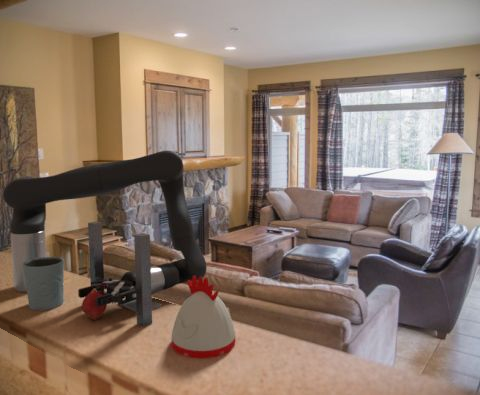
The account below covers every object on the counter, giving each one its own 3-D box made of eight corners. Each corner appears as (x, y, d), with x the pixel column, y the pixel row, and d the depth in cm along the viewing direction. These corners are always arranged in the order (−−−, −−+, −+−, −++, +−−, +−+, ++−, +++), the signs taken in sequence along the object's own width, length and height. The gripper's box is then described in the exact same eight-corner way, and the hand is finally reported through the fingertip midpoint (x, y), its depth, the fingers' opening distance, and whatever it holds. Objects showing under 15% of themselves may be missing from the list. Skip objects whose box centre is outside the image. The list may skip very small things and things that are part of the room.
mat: (117, 303, 120) (117, 302, 120) (139, 297, 125) (139, 295, 125) (139, 313, 113) (139, 311, 113) (161, 306, 119) (161, 304, 118)
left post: (91, 300, 122) (87, 222, 119) (100, 298, 124) (96, 221, 121) (96, 303, 121) (92, 224, 118) (104, 300, 123) (101, 222, 120)
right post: (137, 323, 108) (134, 234, 105) (145, 320, 109) (143, 233, 106) (143, 326, 106) (140, 236, 103) (152, 323, 108) (149, 234, 105)
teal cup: (45, 313, 113) (42, 268, 112) (16, 308, 117) (13, 264, 116) (74, 300, 123) (71, 258, 121) (46, 295, 126) (43, 254, 125)
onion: (77, 321, 109) (76, 290, 108) (95, 313, 114) (93, 283, 113) (94, 326, 106) (93, 293, 105) (112, 317, 111) (111, 286, 110)
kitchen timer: (200, 324, 107) (199, 264, 105) (247, 339, 99) (247, 274, 97) (158, 346, 96) (156, 279, 94) (207, 365, 88) (206, 292, 86)
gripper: (128, 263, 124) (72, 276, 112) (159, 274, 114) (102, 289, 103) (129, 289, 125) (74, 305, 113) (159, 302, 115) (103, 320, 104)
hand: (87, 297), depth 108 cm, fingers open, 8 cm apart
